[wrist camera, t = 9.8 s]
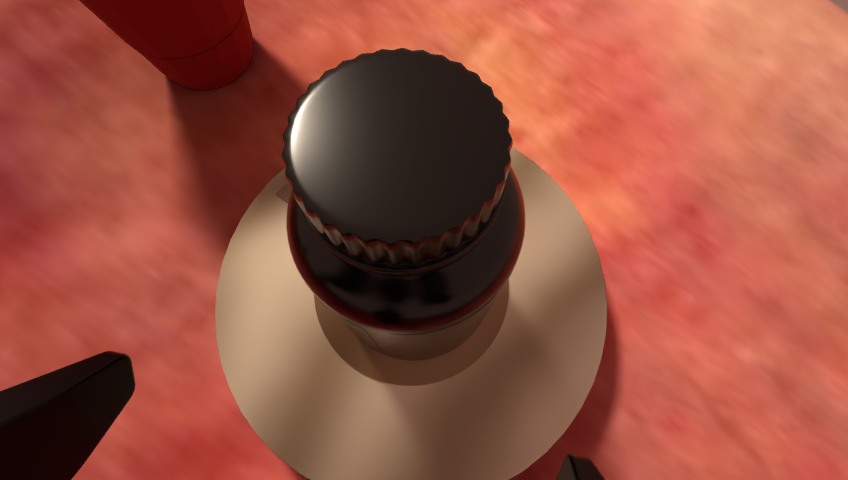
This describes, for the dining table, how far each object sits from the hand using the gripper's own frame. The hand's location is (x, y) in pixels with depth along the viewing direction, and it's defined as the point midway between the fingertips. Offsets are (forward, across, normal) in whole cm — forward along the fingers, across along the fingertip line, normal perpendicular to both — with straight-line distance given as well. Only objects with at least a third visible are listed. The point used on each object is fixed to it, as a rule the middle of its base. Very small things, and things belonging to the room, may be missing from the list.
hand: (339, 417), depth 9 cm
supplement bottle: (+11, 0, +3) cm, 12 cm away
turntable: (+13, 0, +5) cm, 14 cm away
